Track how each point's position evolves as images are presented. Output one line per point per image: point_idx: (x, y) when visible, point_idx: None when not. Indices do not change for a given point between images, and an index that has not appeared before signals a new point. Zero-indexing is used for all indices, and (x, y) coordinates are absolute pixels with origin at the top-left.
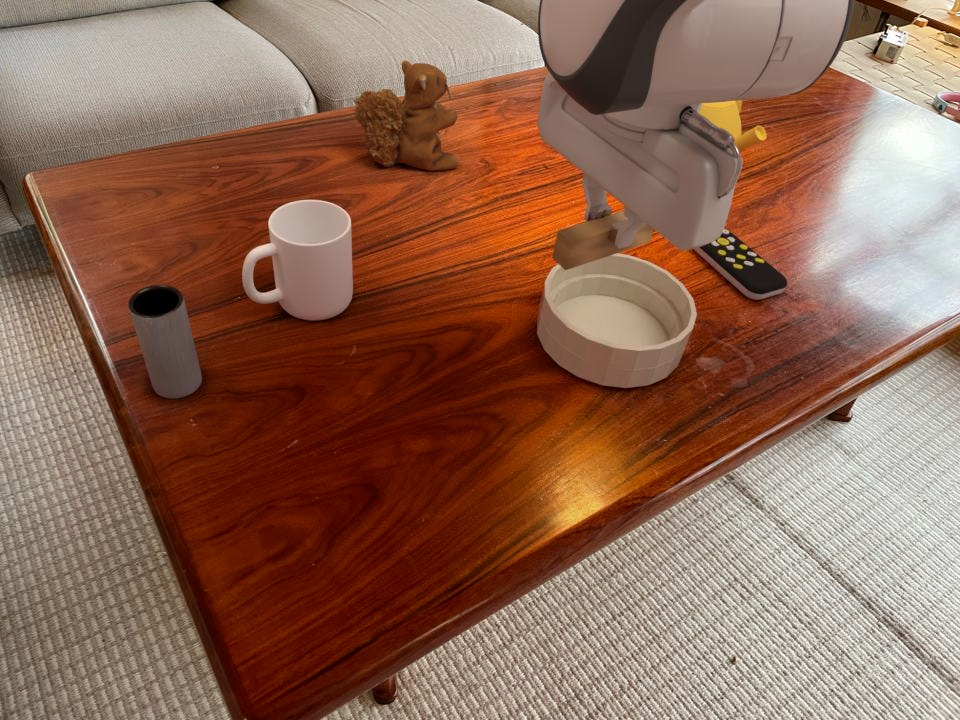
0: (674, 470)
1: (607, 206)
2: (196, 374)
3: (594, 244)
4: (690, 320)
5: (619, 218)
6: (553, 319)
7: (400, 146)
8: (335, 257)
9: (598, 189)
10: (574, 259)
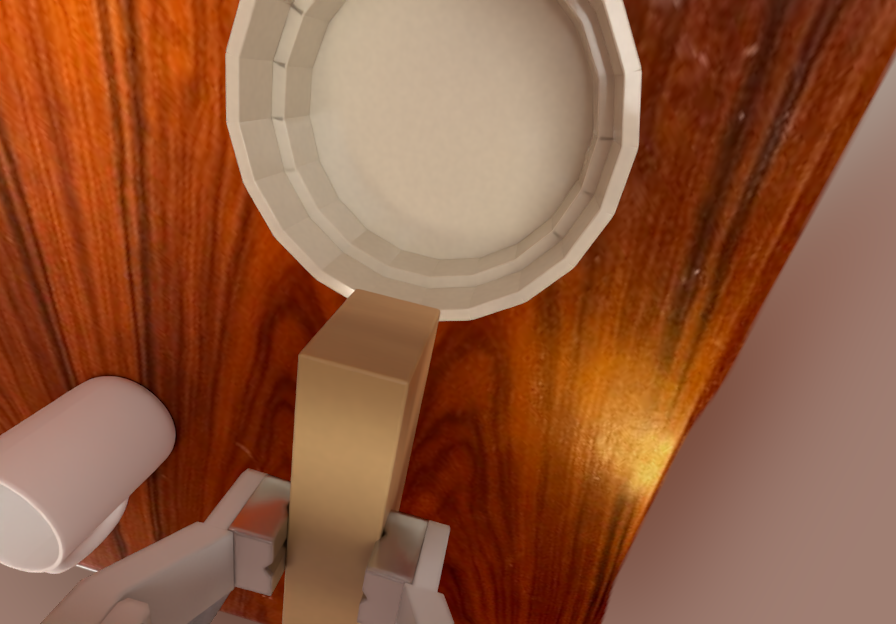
0: (744, 317)
1: (253, 545)
2: None
3: None
4: (618, 41)
5: (327, 517)
6: None
7: None
8: (88, 506)
9: (162, 605)
10: None
